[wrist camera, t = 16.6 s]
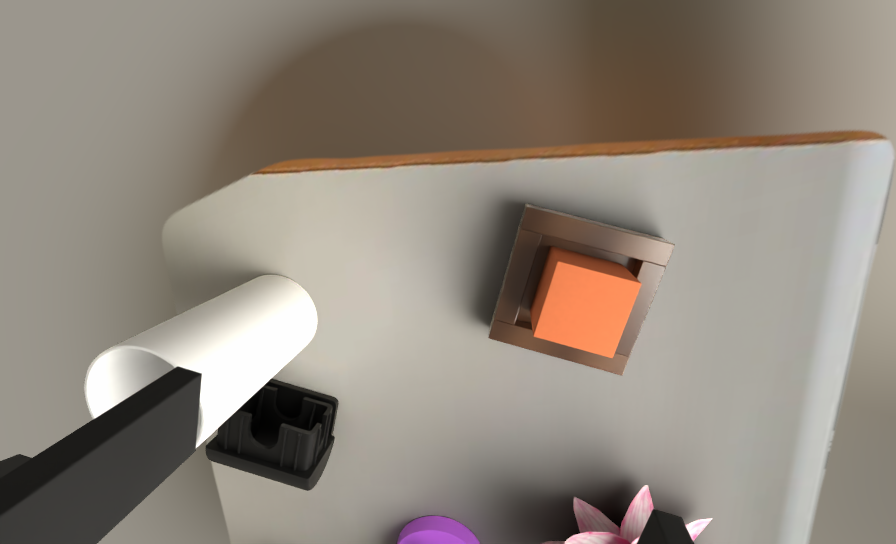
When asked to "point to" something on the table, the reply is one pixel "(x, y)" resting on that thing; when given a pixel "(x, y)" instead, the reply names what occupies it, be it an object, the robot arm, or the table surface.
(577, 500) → the decorative flower
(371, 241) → the table surface
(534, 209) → the brown wooden tray
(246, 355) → the cup
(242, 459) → the end cap
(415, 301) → the table surface
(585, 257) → the orange cube
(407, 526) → the figurine
